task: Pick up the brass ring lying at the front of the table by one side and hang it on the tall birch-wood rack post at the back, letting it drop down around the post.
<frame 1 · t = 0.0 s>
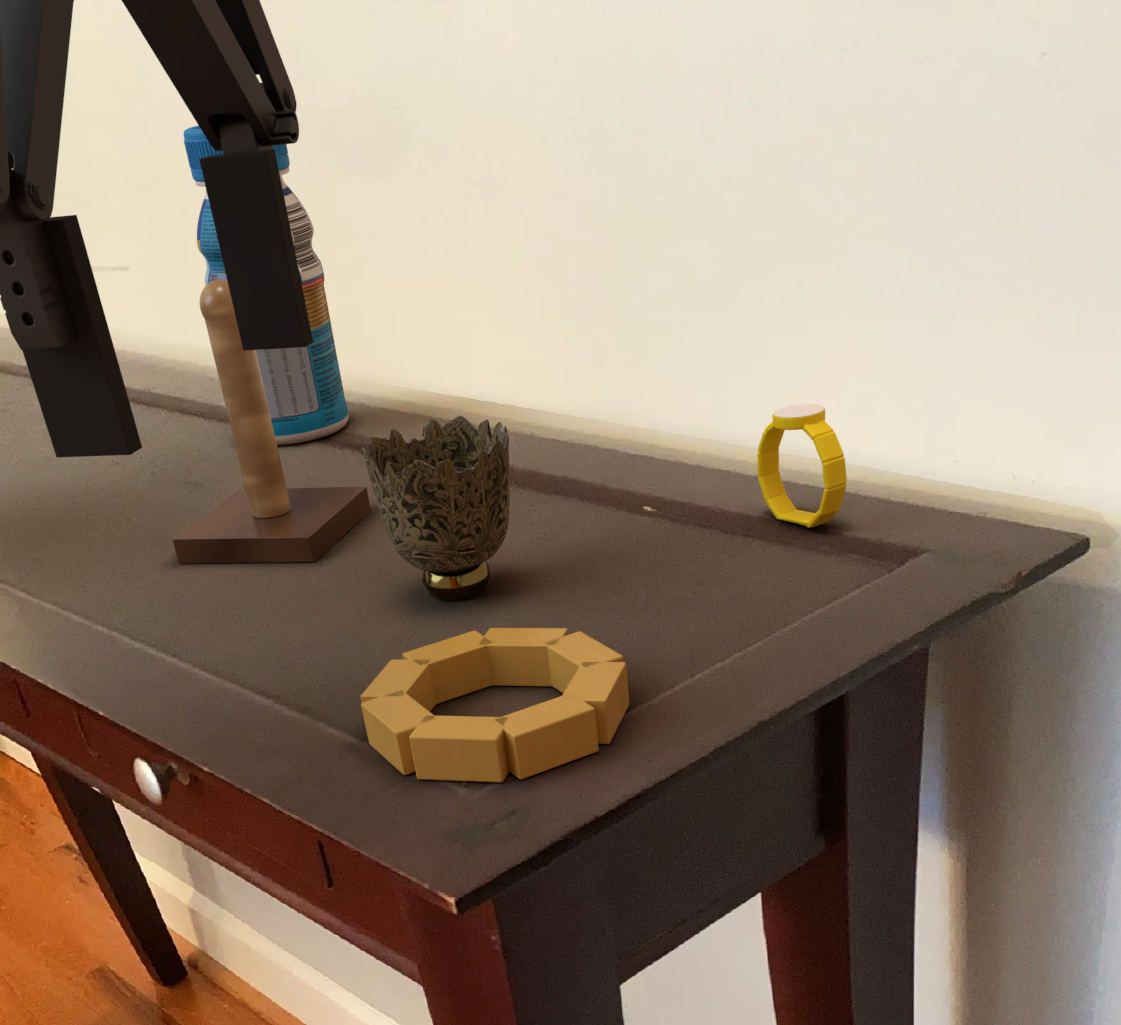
hand: (198, 395, 48), 15 cm above the table, tool pointing down, fingers open, 13 cm apart
watch: (800, 525, 76), on the table
beverage bottle: (297, 434, 104), on the table
rack: (277, 536, 84), on the table
ring: (499, 720, 60), on the table
cup: (459, 594, 73), on the table
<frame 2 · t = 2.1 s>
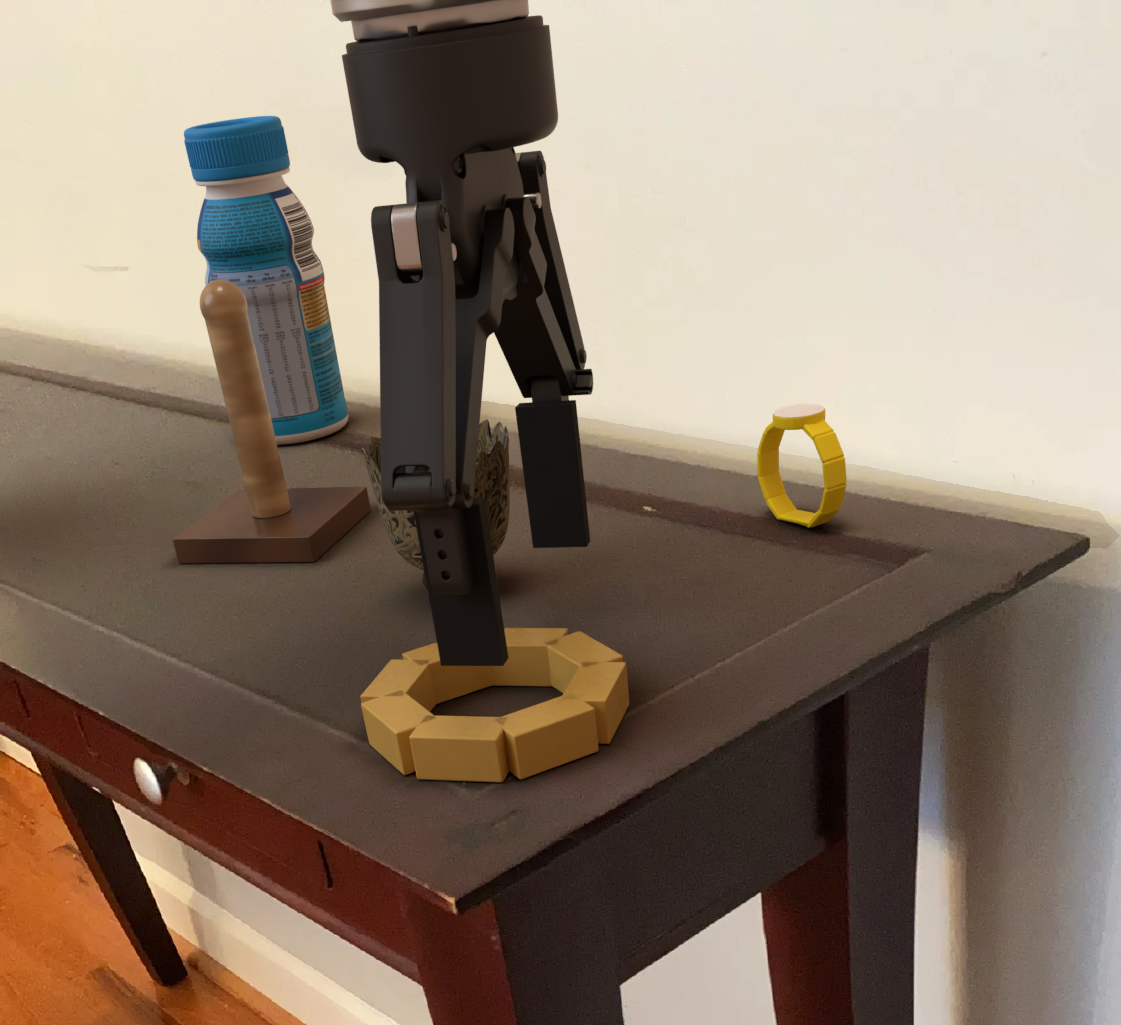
hand: (522, 599, 61), 4 cm above the table, tool pointing down, fingers open, 13 cm apart
nothing on the table moved.
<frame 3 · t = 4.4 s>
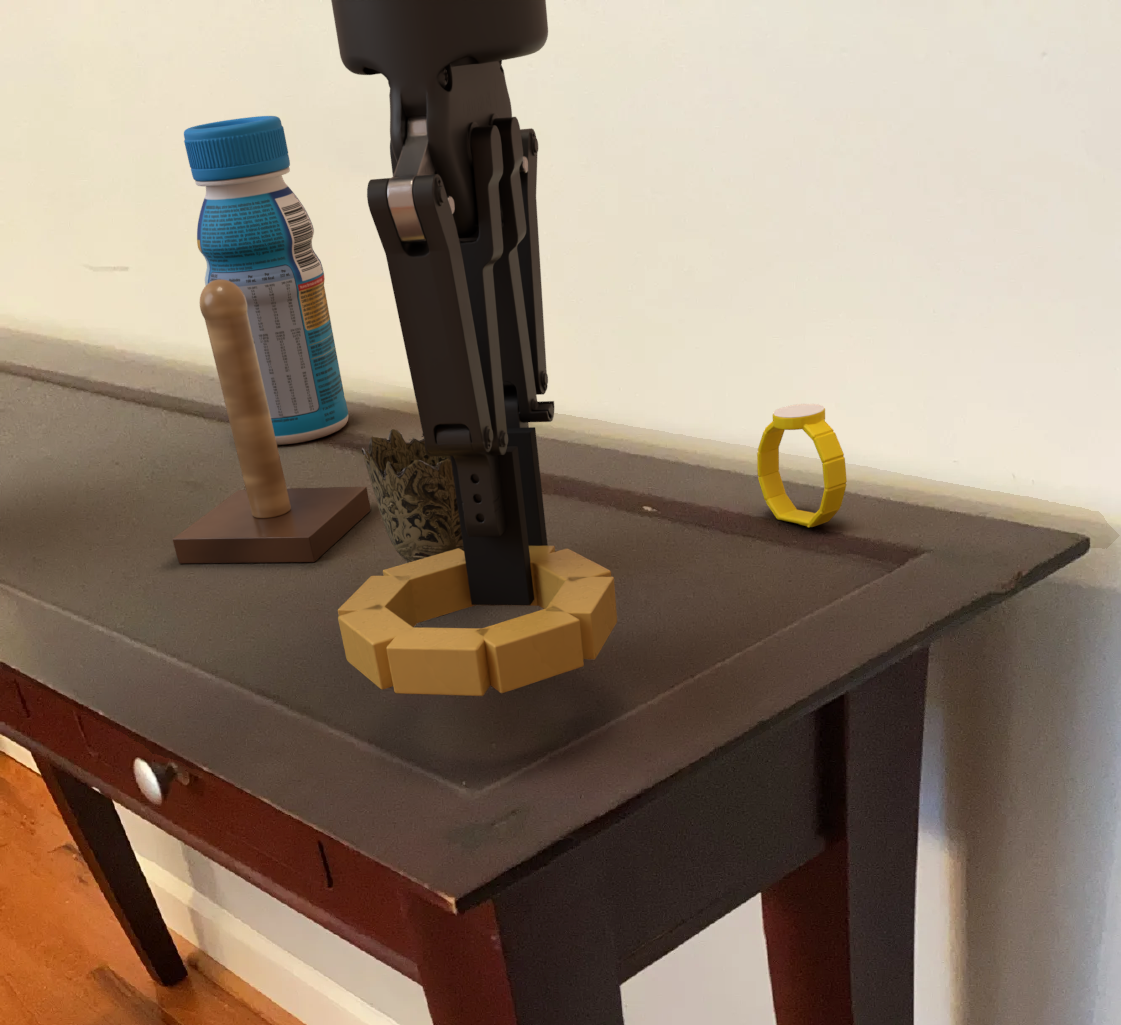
hand: (511, 589, 61), 4 cm above the table, tool pointing down, fingers closed on ring, 2 cm apart
ring: (481, 638, 58), point 4 cm above the table, touching gripper
everything else where it was.
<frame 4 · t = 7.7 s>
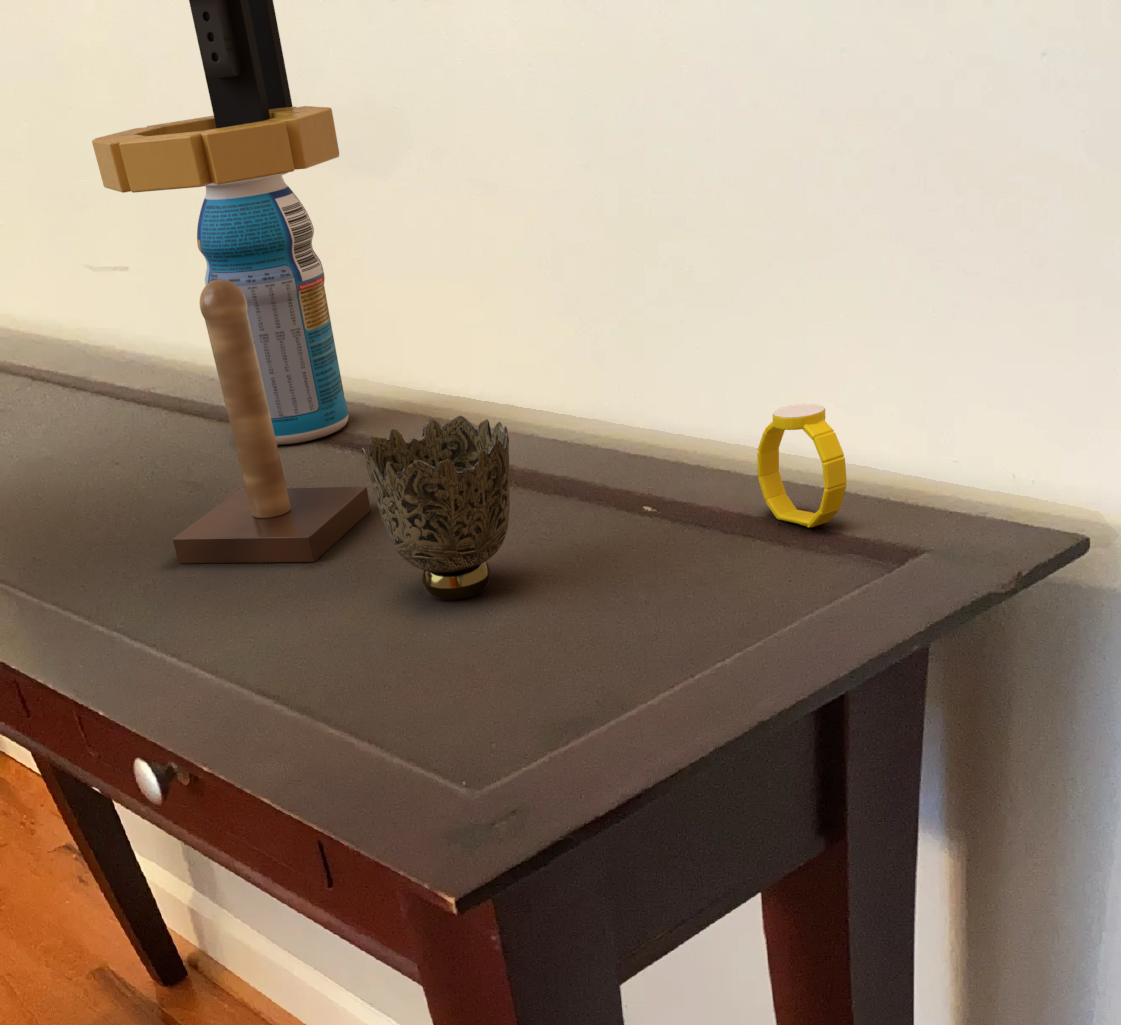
hand: (261, 150, 70), 20 cm above the table, tool pointing down, fingers closed on ring, 2 cm apart
ring: (222, 171, 67), point 20 cm above the table, touching gripper
everything else where it was.
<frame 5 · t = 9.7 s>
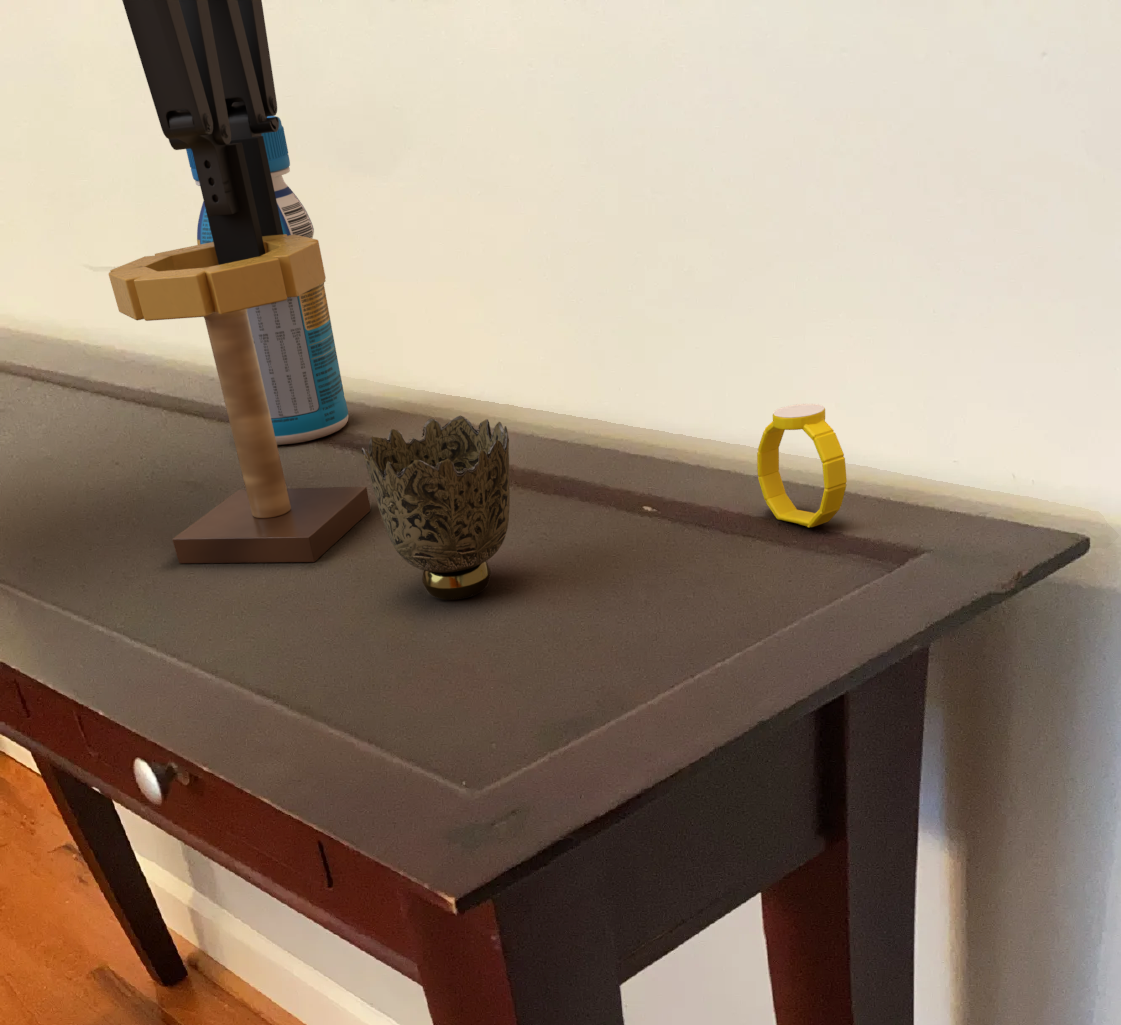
hand: (256, 272, 79), 14 cm above the table, tool pointing down, fingers closed on ring, 2 cm apart
ring: (223, 295, 76), point 13 cm above the table, touching gripper
everything else where it was.
when the fingers open (9 cm above the table, at t = 11.3 s): ring drops 7 cm, resting on rack.
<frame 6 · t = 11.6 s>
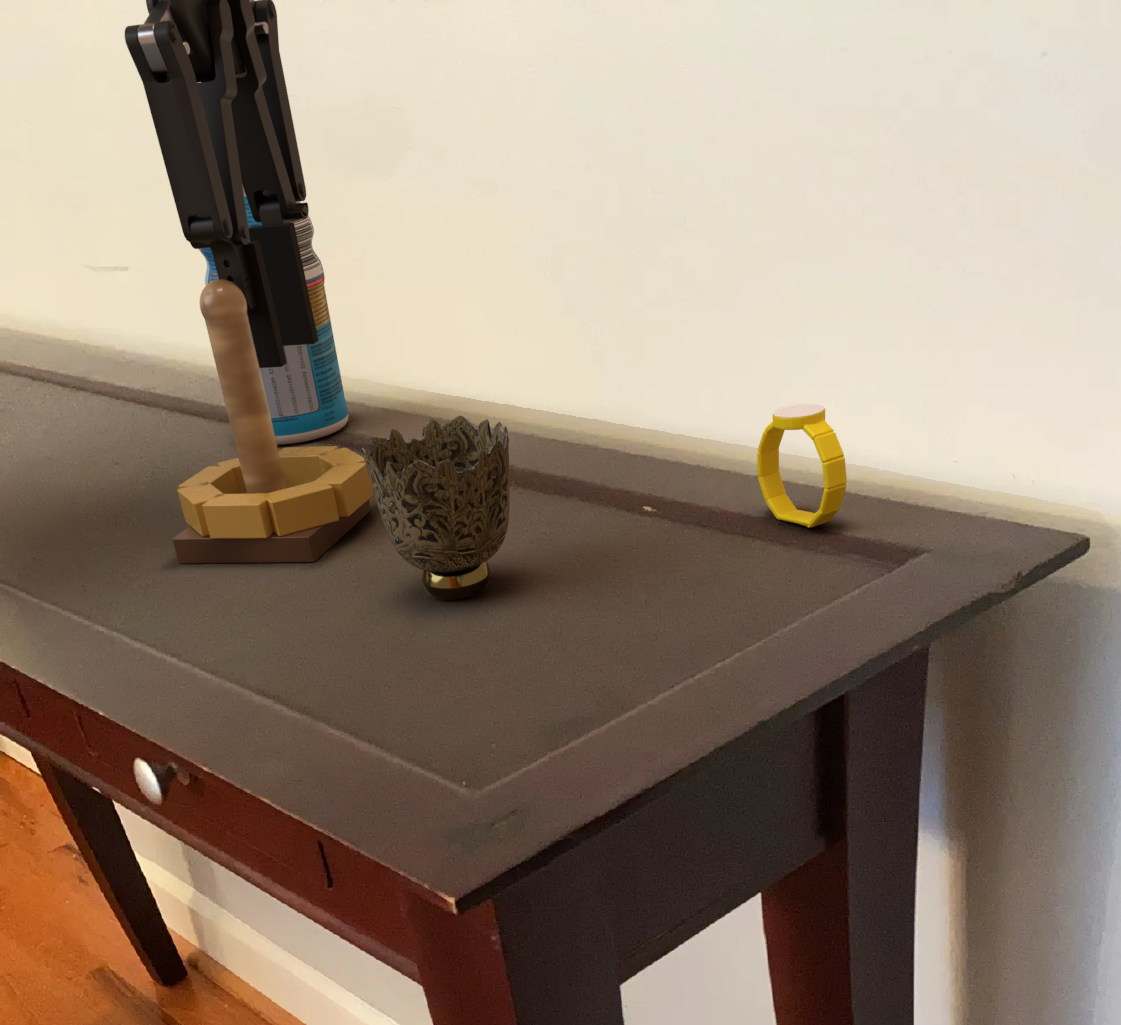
hand: (280, 353, 83), 9 cm above the table, tool pointing down, fingers open, 4 cm apart
ring: (280, 507, 84), point 1 cm above the table, touching rack
everything else where it was.
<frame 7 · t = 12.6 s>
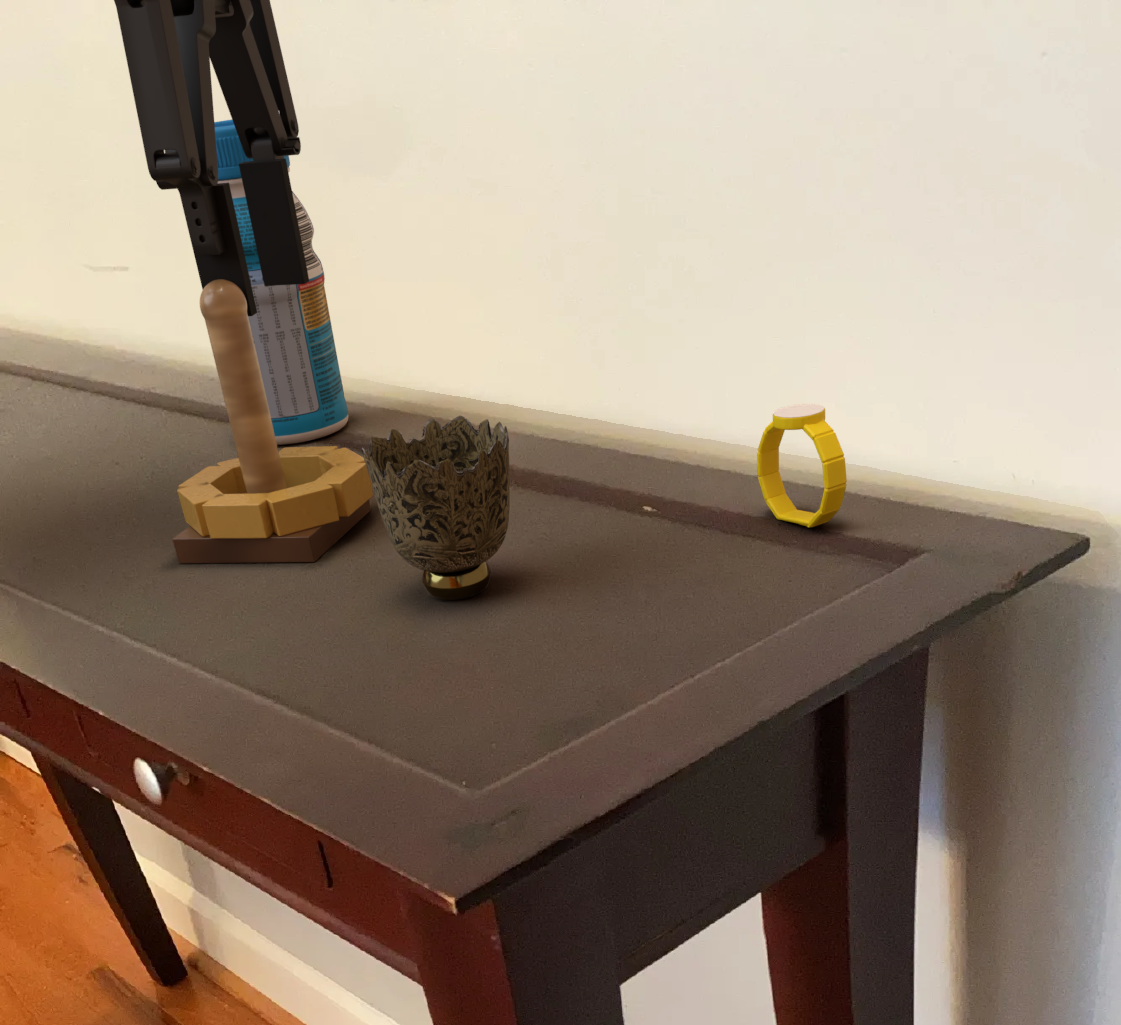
hand: (260, 298, 81), 12 cm above the table, tool pointing down, fingers open, 7 cm apart
nothing on the table moved.
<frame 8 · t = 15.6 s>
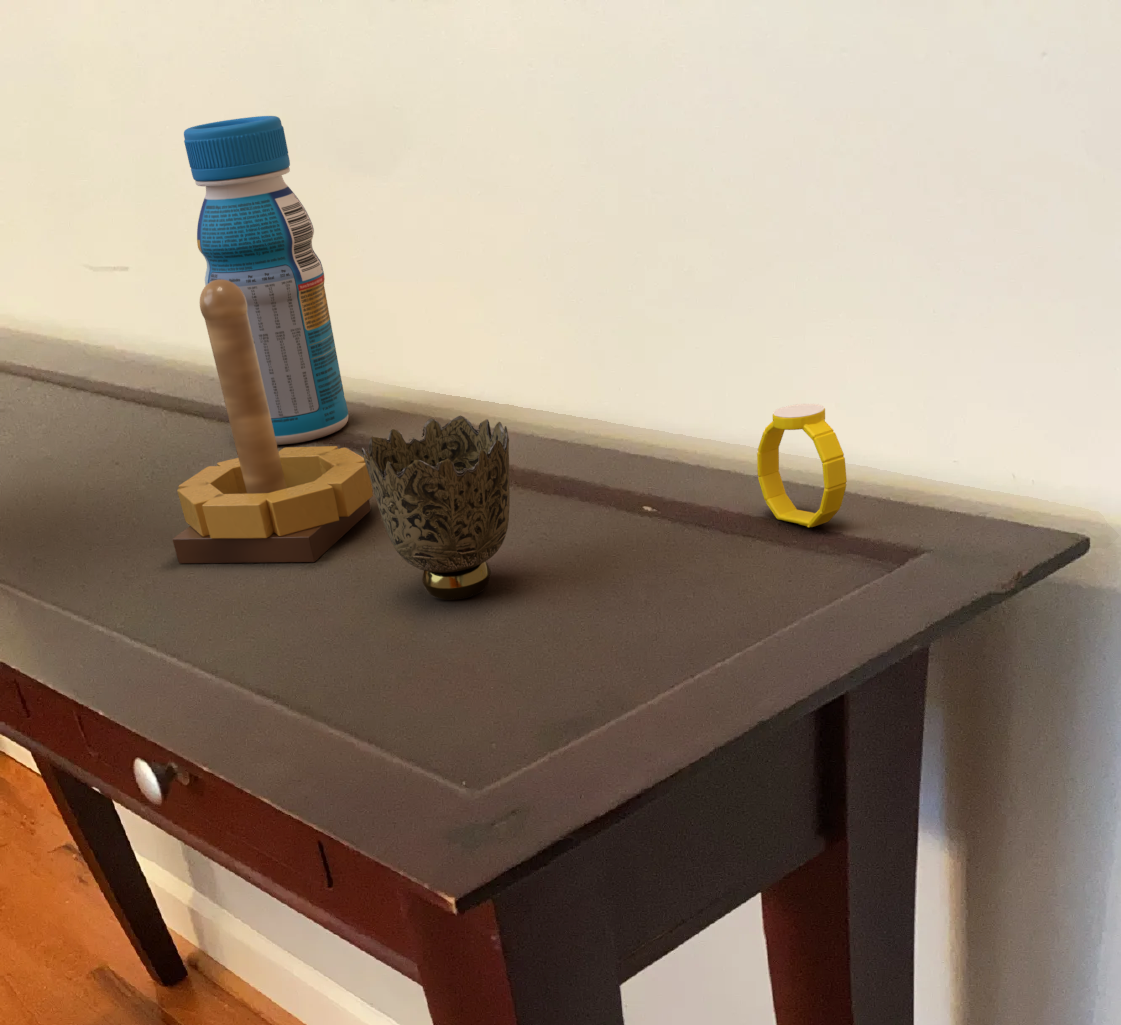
nothing on the table moved.
at the end: ring 0.8 cm from the rack (horizontally); ring point 1.5 cm above the table; the gripper is holding nothing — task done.
